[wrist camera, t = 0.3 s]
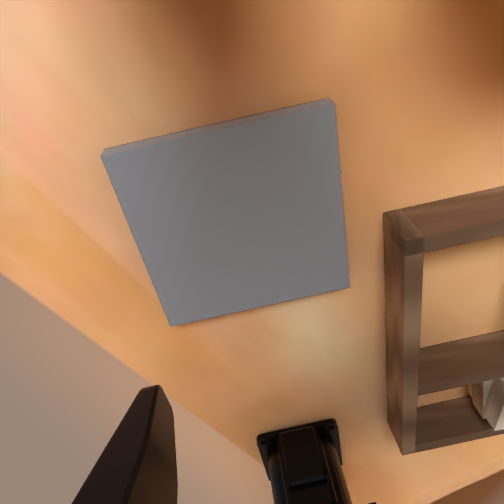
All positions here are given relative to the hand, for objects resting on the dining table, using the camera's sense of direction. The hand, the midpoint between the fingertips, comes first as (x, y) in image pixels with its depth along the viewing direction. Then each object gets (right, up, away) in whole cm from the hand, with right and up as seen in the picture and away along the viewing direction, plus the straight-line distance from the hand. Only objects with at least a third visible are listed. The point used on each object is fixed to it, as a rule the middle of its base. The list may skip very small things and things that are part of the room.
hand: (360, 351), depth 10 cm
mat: (-3, +4, +14) cm, 15 cm away
